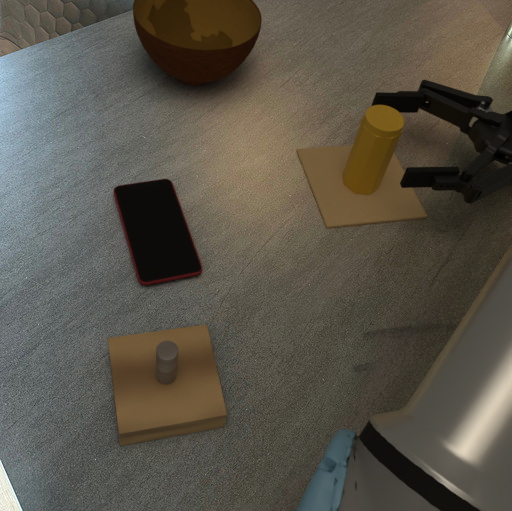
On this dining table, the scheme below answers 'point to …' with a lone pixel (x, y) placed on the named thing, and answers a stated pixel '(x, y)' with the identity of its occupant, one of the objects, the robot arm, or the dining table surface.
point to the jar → (372, 149)
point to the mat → (349, 203)
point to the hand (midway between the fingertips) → (387, 138)
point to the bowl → (197, 36)
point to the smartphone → (156, 232)
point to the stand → (165, 384)
